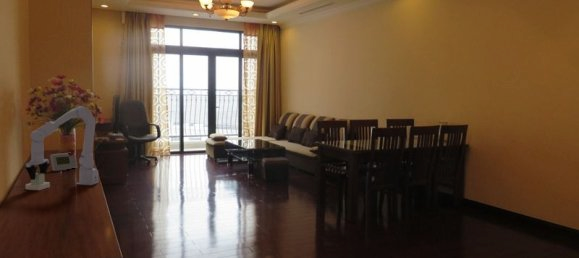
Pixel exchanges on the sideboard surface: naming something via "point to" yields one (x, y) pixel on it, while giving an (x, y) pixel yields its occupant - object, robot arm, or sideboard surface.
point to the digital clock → (63, 161)
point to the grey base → (37, 186)
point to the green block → (38, 179)
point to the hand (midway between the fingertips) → (37, 178)
